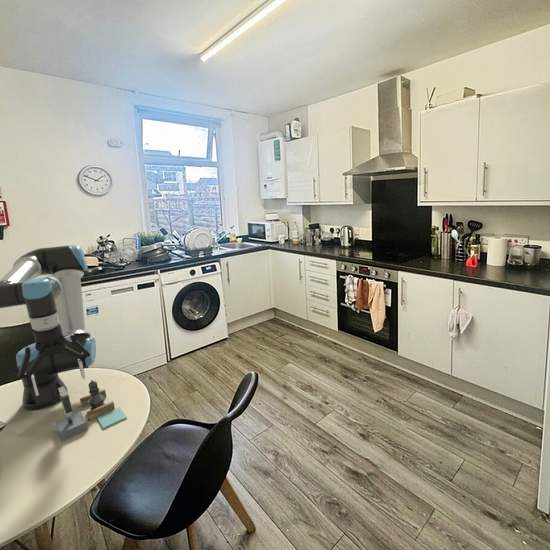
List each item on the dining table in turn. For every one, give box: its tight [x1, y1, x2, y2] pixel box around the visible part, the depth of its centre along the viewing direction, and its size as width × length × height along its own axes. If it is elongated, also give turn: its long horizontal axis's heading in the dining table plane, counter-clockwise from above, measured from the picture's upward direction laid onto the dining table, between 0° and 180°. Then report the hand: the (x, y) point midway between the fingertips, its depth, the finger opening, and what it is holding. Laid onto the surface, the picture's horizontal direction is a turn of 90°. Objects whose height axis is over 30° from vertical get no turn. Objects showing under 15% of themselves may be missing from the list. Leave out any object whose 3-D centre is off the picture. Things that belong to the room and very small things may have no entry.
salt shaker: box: [88, 379, 106, 411], centre depth 129 cm, size 6×6×12 cm
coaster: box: [96, 406, 128, 430], centre depth 123 cm, size 8×8×1 cm
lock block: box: [55, 411, 89, 442], centre depth 118 cm, size 8×8×3 cm
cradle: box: [79, 388, 116, 421], centre depth 130 cm, size 12×9×3 cm
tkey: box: [58, 386, 73, 422], centre depth 116 cm, size 8×2×11 cm, turn 41°
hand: (61, 385), depth 114 cm, fingers open, 13 cm apart
